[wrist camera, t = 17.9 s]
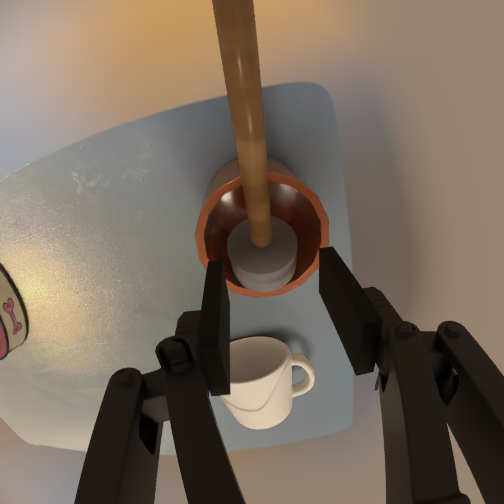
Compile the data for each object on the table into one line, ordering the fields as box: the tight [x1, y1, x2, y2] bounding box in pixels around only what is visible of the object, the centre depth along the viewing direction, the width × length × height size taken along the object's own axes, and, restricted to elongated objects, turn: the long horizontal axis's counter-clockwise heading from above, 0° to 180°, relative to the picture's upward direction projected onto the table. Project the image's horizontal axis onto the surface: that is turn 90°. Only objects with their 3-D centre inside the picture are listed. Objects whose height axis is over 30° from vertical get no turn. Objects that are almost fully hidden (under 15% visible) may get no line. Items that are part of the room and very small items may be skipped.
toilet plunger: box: [212, 0, 298, 292], centre depth 14 cm, size 5×5×21 cm
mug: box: [220, 336, 315, 429], centre depth 35 cm, size 12×9×8 cm
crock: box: [195, 157, 329, 298], centre depth 26 cm, size 9×9×10 cm
